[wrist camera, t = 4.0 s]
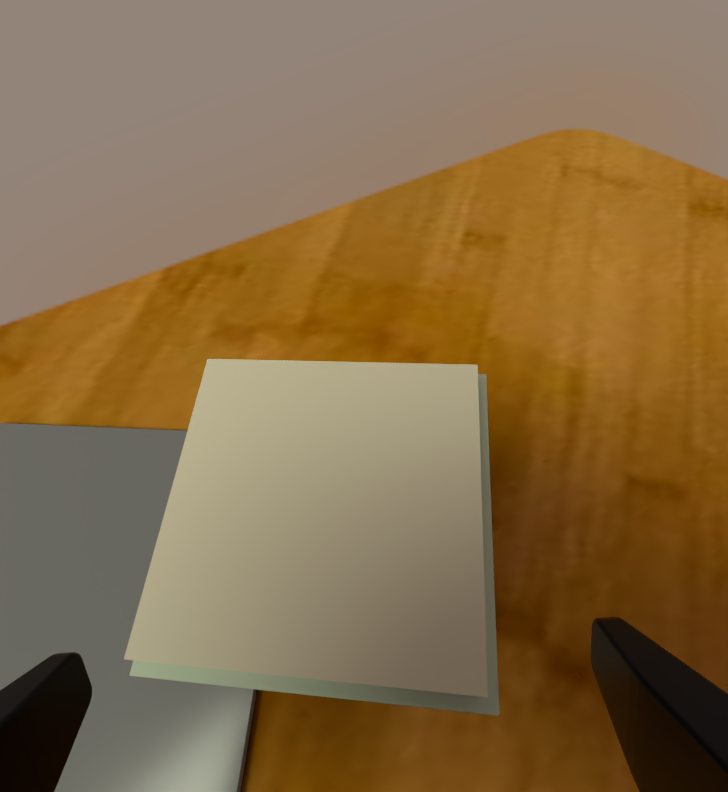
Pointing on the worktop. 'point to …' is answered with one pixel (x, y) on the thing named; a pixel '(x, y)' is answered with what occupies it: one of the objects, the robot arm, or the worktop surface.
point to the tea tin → (329, 537)
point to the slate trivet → (105, 606)
